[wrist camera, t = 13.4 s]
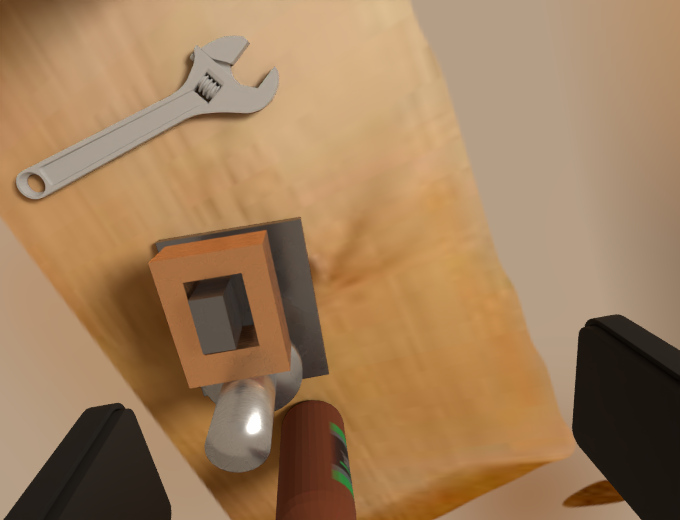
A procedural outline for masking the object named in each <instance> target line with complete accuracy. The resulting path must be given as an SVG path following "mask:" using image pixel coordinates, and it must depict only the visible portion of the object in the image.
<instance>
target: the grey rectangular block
mask: <svg viewBox="0 0 680 520" xmlns="http://www.w3.org/2000/svg"><path fill="white" fill-rule="evenodd" d="M188 304H189V307H190V311H191V314H192V318H193V321H194V325H195V328H196V332H197V335H198V339H199V342H200V346H201V349H202V353H203V354H209V353H215V352H222V351H228V350H234V349H236V348H237V344H238V340H239V337H240V333H241V330H242V326H243V323H244V319H245V316H246V312H247V309H248V305H249V301H248V297H247V293H246V289H245V284H244V280H243V276H242V273H238V274H232V275H226V276H220V277H215V278H209V279H203V280H201V281H200V282H199V284H198V285H197V287H196V289H195V290H194V292H193V293H192V295H191V297H190V298H189V300H188Z"/></svg>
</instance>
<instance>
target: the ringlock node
mask: <svg viewBox="0 0 680 520" xmlns="http://www.w3.org/2000/svg"><path fill="white" fill-rule="evenodd" d="M156 246H157V250H158V254H157V255H156V256H155V257H154V258H153V259H152V260H150V261H149V262H148V264H149V267H150V270H151V273H152V276H153V279H154V282H155V285H156V288H157V291H158V294H159V297H160V300H161V303H162V306H163V309H164V313H165V316H166V319H167V322H168V325H169V328H170V331H171V334H172V337H173V340H174V343H175V346H176V349H177V352H178V355H179V358H180V361H181V364H182V367H183V370H184V373H185V376H186V379H187V382H188V385H189V388H196V387H201V388H202V391H203V394H204V396H209V398H210V399H211V400H212V401H213V402H214V403H216V408H215V411H214V414H213V418H212V421H211V425H210V428H209V431H208V435H207V438H206V442H205V452H206V455H207V457H208V459H209V460H210V461H211V463H213V464H214V465H215V466H217V467H218V468H220V469H222V470H225V471H229V472H246V471H250V470H253V469H255V468H257V467H259V466H260V465H261V464H263V463H264V462H265V460H266V459H267V458H268V456H269V453H270V449H271V439H272V428H273V417H274V411H276V410H278V409H280V408H282V407H283V406H285V405H286V404H287V403H289V402H290V401H291V400H292V399H293V398H294V396H295V395H296V393H297V392H298V390H299V388H300V385H301V382H302V379H305V378H310V377H316V376H322V375H327V374H329V370H328V364H327V359H326V353H325V348H324V342H323V337H322V331H321V326H320V321H319V315H318V310H317V304H316V299H315V293H314V288H313V282H312V277H311V271H310V266H309V260H308V255H307V249H306V244H305V238H304V233H303V227H302V222H301V217H297V218H291V219H285V220H279V221H273V222H266V223H260V224H254V225H248V226H242V227H236V228H230V229H224V230H217V231H211V232H205V233H199V234H193V235H187V236H181V237H174V238H168V239H162V240H158V241H157V242H156ZM238 273H242V276H243V280H244V284H245V289H246V293H247V297H248V301H249V305H248V309H247V312H246V316H245V319H244V323H243V326H242V330H241V333H240V337H239V340H238V344H237V348H236V349H234V350H228V351H222V352H215V353H209V354H203V353H202V349H201V346H200V342H199V339H198V335H197V332H196V328H195V325H194V321H193V318H192V314H191V311H190V307H189V304H188V300H189V298H190V297H191V295H192V293H193V292H194V290H195V289H196V287H197V285H198V284H199V282H200V281H201V280H203V279H209V278H215V277H220V276H226V275H232V274H238Z"/></svg>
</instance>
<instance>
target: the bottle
mask: <svg viewBox="0 0 680 520" xmlns="http://www.w3.org/2000/svg"><path fill="white" fill-rule="evenodd" d="M276 520H356V510H355V502H354V495H353V488H352V481H351V474H350V466H349V459H348V452H347V445H346V438H345V430H344V423H343V420H342V417H341V415H340V413H339V412H338V410H337V409H336V408H335V407H333V406H332V405H331V404H328V403H326V402H323V401H313V400H310V401H306V402H302V403H300V404H297V405H296V406H294V407H293V408H292V409H290V410H289V412H288V413H287V415H286V416H285V418H284V420H283V423H282V429H281V445H280V460H279V476H278V492H277V507H276Z"/></svg>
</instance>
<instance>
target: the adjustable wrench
mask: <svg viewBox="0 0 680 520" xmlns="http://www.w3.org/2000/svg"><path fill="white" fill-rule="evenodd" d="M249 44H250V43H249V42H248V41H247V40H246V39H245V38H244V37H243V36H226V37H221V38H218V39H216V40H214V41H212V42H210V43H208V44H207V45H205V46H204V47H202V48H200V47H199V46H197V45H196V46H195V48H194V52H193V53H192V54H191V56H190V59H191V60H192V61H194V64H193V67H192V69H191V72H190V74H189V77H188V79H187V80H186V82H185V84H184V85H183V86H182V87H181V88H180V89H179V90H178V91H176V92H175V93H173V94H172V95H170V96H168V97H166V98H164V99H162V100H160V101H159V102H157V103H155V104H153V105H151V106H149V107H147V108H145V109H143V110H141V111H139V112H137V113H135V114H133V115H131V116H129V117H127V118H125V119H123V120H121V121H119V122H117V123H115V124H113V125H112V126H110V127H108V128H106V129H104V130H102V131H100V132H98V133H96V134H94V135H92V136H90V137H88V138H86V139H84V140H82V141H80V142H78V143H76V144H74V145H72V146H70V147H68V148H66V149H64V150H63V151H61V152H59V153H57V154H55V155H53V156H51V157H49V158H47V159H45V160H43V161H41V162H39V163H37V164H35V165H33V166H31V167H29V168H27V169H25V170H23V171H21V172H20V173H19V174H18V176H17V178H16V184H17V187H18V189H19V191H20V192H21V193H22V194H23V195H25V196H26V197H28V198H31V199H40V198H43V197H46V196H49V195H51V194H53V193H54V192H56V191H58V190H60V189H62V188H64V187H65V186H67V185H69V184H71V183H73V182H74V181H76V180H78V179H80V178H82V177H84V176H85V175H87V174H89V173H91V172H93V171H94V170H96V169H98V168H100V167H102V166H104V165H105V164H107V163H109V162H111V161H113V160H114V159H116V158H118V157H120V156H122V155H124V154H125V153H127V152H129V151H131V150H133V149H135V148H136V147H138V146H140V145H142V144H144V143H145V142H147V141H149V140H151V139H153V138H155V137H156V136H158V135H160V134H162V133H164V132H165V131H167V130H169V129H171V128H173V127H175V126H176V125H178V124H180V123H182V122H184V121H186V120H187V119H189V118H192V117H194V116H197V115H201V114H207V113H220V112H233V113H254V112H257V111H260V110H262V109H264V108H265V107H266V106H267V105H268V104H269V103H270V102H271V101H272V100H273V98H274V96H275V95H276V92H277V89H278V86H279V73H278V70H277V69H276V68H275V66H274V68H273V69H272V70H271V72H270V73H269V74H268V75H267V77H266V78H265V79H264V81H263V82H262V83H261V85H260V86H259V87H258V88H254V87H249V86H245V85H241V84H240V83H239V82H238V81H237V80H236V79H234V76H233V74H232V71H231V67H230V65H231V64H232V65H234V64H235V63H236V62H237V60H238V59H239V58H240V56H241V55H242V54H243V52H244V51H245V50H246V48H247V47H248V46H249ZM209 78H211V79H209ZM213 81H215V83H214V82H213ZM217 84H218V85H219V86H217ZM198 88H199V90H198V91H199V93H201V92H203V93H202V95H203V96H206V98H207V99H210V98H211V101H210V102H207V101H206V100H205V99H204V98H203V97H202V96H200V95H199V94H198V93H197V92H196V90H197V89H198ZM32 174H37V175H39V176H40V177H41V178H42V179H43V181H44V183H45V191H43V192H35V191H33V190H32V189H31V188H30V186H29V185H28V177H29V176H30V175H32Z"/></svg>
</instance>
